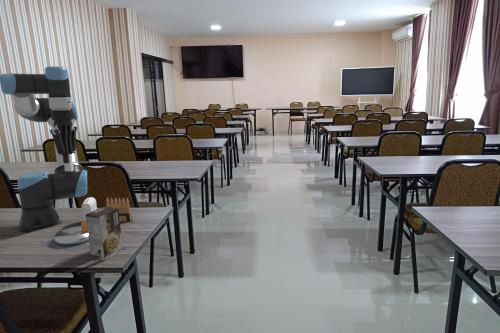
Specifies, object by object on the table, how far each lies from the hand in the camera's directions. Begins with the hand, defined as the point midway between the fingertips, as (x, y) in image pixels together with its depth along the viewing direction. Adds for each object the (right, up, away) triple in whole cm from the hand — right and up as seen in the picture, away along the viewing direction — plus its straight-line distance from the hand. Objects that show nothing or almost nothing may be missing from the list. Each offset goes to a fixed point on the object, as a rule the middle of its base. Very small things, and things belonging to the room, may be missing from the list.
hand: (69, 170), depth 133 cm
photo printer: (+2, -24, +14) cm, 28 cm away
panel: (+4, -27, -2) cm, 28 cm away
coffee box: (+20, -29, -13) cm, 38 cm away
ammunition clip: (+13, -24, +16) cm, 32 cm away
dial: (+4, -26, -3) cm, 26 cm away
